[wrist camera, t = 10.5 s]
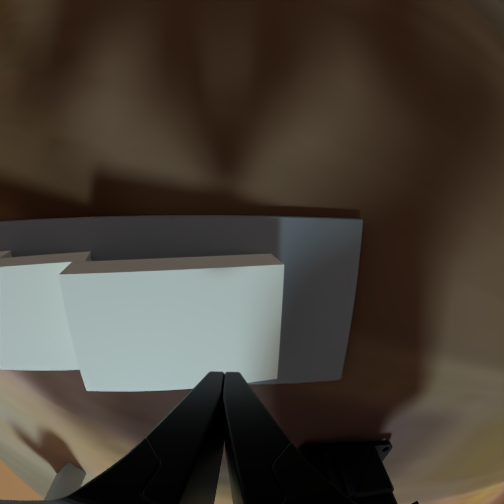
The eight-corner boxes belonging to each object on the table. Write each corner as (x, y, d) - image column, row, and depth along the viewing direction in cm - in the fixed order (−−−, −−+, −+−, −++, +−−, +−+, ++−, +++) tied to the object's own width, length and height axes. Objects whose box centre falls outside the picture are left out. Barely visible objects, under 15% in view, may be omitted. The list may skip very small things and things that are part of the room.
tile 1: (85, 261, 11) (-61, 271, 8) (104, 368, 12) (-32, 367, 9) (90, 251, 12) (-46, 262, 10) (106, 350, 13) (-22, 351, 11)
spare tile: (284, 264, 11) (58, 274, 9) (277, 378, 12) (86, 390, 10) (270, 253, 13) (71, 262, 11) (266, 358, 14) (93, 369, 12)
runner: (359, 218, 13) (362, 219, 12) (338, 375, 15) (340, 380, 14) (-86, 228, 12) (-89, 229, 11) (-65, 327, 14) (-68, 329, 13)
